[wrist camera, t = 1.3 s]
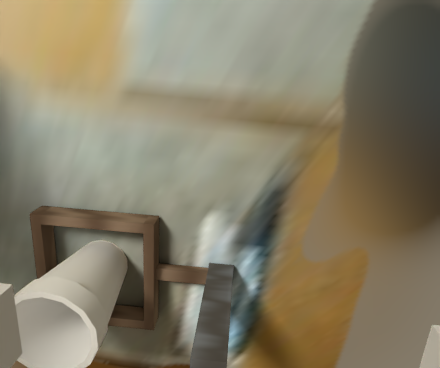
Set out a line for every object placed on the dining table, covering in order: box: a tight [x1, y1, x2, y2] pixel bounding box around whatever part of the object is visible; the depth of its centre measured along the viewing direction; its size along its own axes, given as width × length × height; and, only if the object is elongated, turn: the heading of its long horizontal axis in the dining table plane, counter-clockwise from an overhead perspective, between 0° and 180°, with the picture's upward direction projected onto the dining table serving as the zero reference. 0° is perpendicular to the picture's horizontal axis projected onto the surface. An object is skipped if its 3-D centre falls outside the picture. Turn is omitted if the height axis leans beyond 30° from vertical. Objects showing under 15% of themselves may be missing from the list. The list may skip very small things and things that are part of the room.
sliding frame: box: [30, 206, 234, 368], centre depth 36 cm, size 24×14×15 cm, turn 86°
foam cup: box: [14, 240, 128, 368], centre depth 38 cm, size 10×9×13 cm
